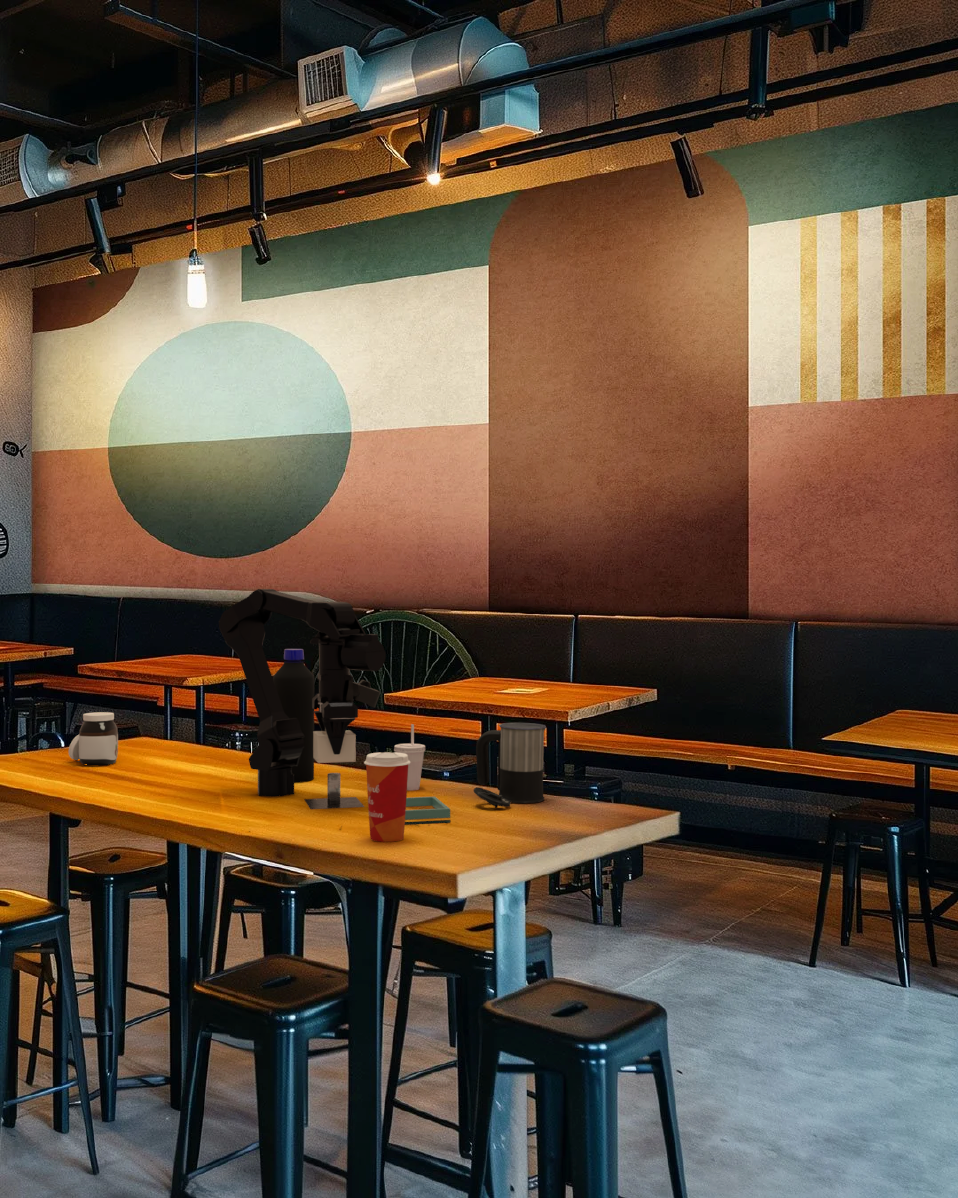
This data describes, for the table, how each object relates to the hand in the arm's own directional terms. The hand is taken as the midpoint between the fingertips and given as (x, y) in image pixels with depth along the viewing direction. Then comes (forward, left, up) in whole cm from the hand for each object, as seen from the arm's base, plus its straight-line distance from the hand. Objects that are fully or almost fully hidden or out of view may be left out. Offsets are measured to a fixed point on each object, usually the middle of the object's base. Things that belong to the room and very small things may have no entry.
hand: (334, 751), depth 225 cm
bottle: (-4, +34, -11) cm, 36 cm away
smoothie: (+17, +12, -11) cm, 24 cm away
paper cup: (+5, -28, -11) cm, 30 cm away
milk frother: (+34, -2, -11) cm, 36 cm away
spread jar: (-47, +67, -11) cm, 83 cm away
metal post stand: (0, 0, -11) cm, 11 cm away
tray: (+12, -12, -11) cm, 20 cm away
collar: (0, 0, -2) cm, 2 cm away
